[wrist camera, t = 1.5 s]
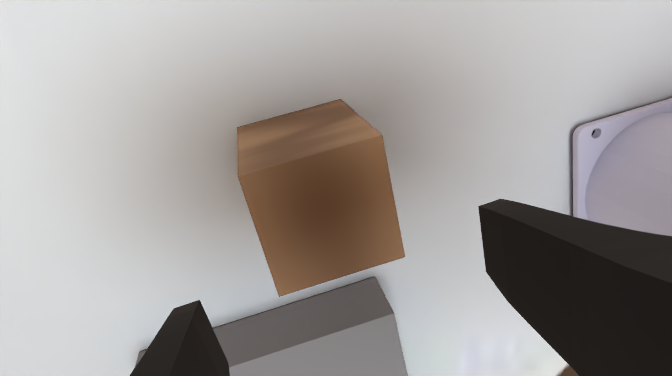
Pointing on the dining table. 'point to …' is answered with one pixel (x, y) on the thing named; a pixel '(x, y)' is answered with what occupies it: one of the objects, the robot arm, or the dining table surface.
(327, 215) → the walnut block
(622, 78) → the dining table surface
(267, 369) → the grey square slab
